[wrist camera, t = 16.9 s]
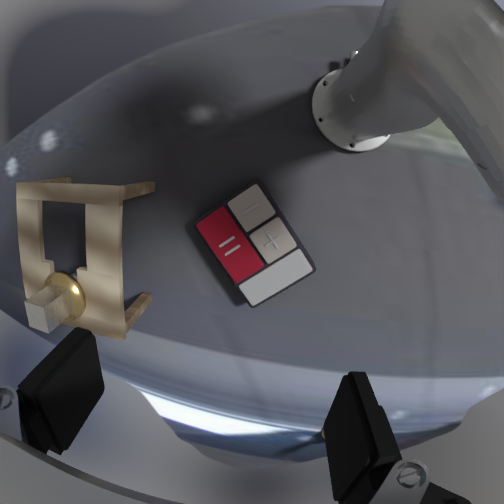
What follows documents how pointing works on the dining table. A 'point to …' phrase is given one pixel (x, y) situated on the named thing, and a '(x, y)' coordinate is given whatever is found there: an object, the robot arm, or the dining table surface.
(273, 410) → the dining table surface
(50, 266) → the shelf
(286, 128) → the dining table surface
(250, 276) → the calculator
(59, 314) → the peg
